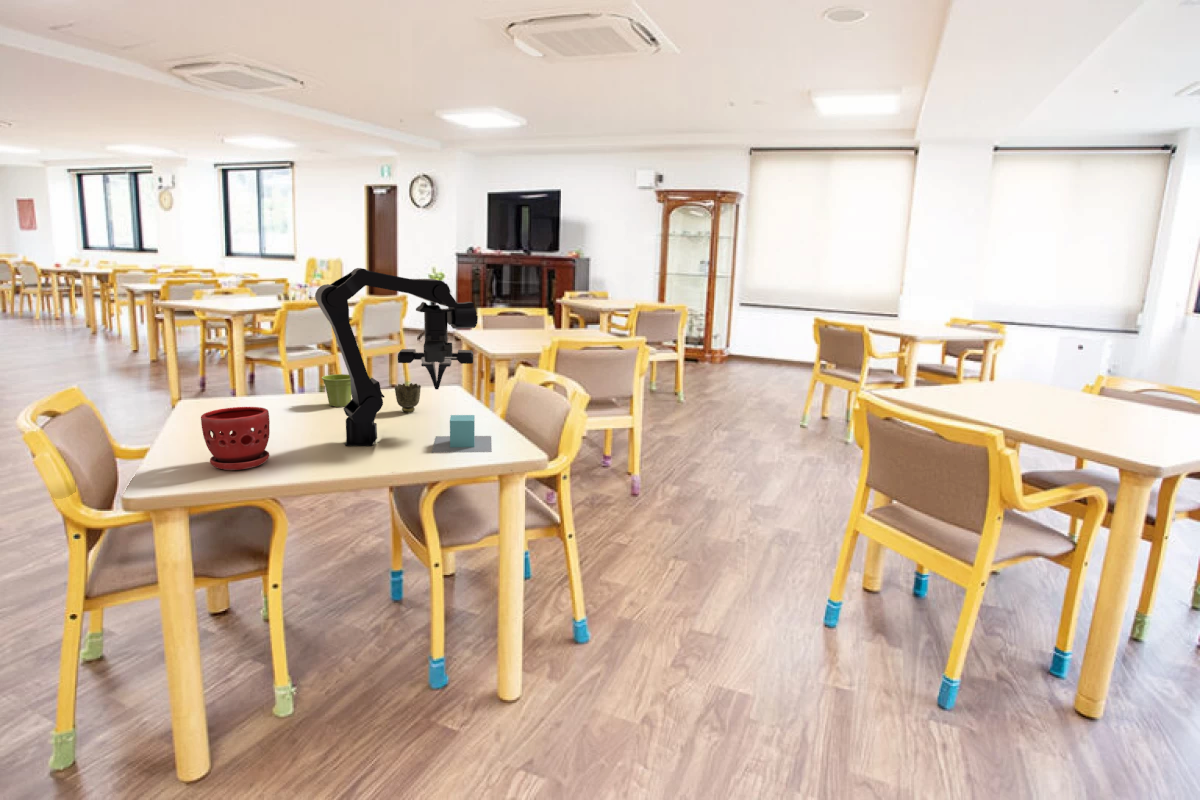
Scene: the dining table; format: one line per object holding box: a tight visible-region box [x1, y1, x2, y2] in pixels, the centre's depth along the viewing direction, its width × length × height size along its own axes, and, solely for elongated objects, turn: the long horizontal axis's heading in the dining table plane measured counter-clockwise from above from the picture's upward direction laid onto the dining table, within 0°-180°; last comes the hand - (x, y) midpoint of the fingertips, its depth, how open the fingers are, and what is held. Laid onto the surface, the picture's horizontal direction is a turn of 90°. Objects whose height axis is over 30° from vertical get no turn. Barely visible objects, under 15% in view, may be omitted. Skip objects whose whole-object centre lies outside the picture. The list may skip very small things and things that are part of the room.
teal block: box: [449, 414, 476, 447], centre depth 169 cm, size 6×6×7 cm
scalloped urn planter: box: [393, 382, 422, 414], centre depth 202 cm, size 8×7×8 cm
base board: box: [431, 435, 493, 454], centre depth 170 cm, size 14×14×1 cm
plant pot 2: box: [321, 373, 352, 408], centre depth 207 cm, size 9×9×9 cm
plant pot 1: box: [200, 406, 271, 471], centre depth 150 cm, size 13×13×12 cm
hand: (436, 389), depth 179 cm, fingers closed
